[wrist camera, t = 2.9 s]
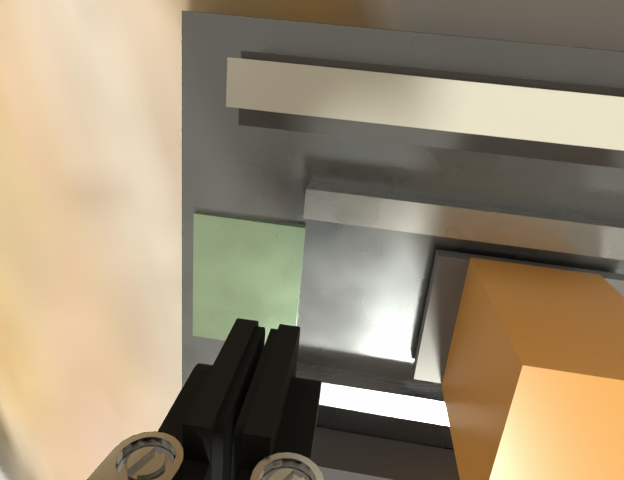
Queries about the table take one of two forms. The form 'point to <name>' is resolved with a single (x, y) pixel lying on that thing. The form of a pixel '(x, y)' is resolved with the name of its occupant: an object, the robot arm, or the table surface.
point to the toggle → (527, 367)
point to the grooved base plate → (424, 132)
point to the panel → (366, 215)
